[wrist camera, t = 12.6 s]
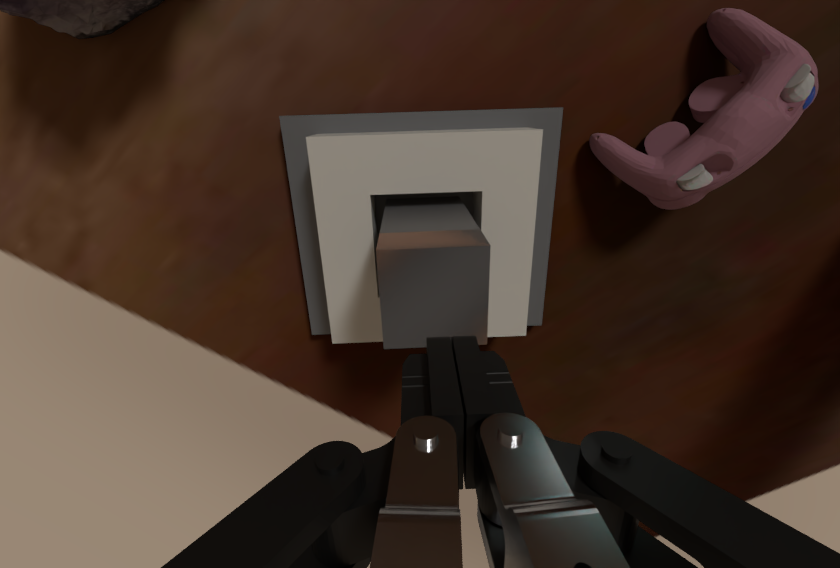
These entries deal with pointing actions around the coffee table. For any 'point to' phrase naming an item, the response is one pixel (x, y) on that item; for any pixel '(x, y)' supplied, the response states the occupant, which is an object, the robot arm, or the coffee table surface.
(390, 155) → the socket
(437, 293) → the plug
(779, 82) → the video game controller
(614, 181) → the coffee table surface
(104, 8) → the geode
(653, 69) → the coffee table surface
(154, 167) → the coffee table surface
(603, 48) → the coffee table surface
